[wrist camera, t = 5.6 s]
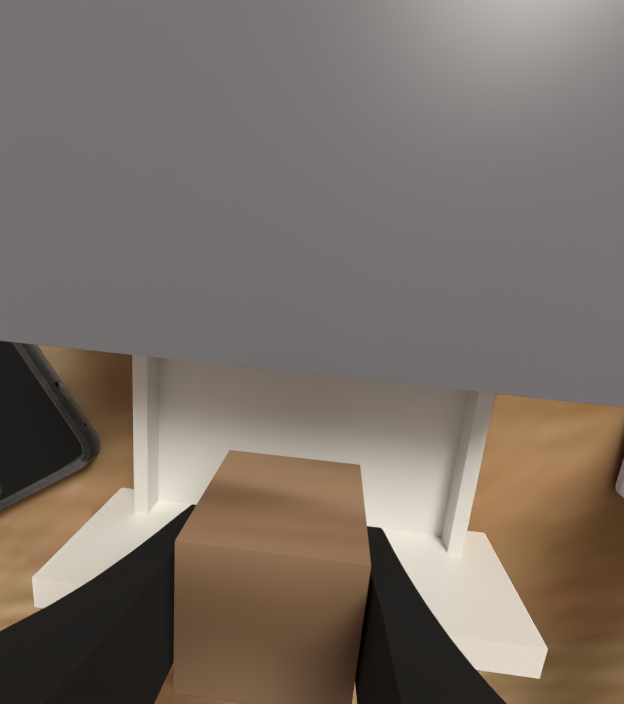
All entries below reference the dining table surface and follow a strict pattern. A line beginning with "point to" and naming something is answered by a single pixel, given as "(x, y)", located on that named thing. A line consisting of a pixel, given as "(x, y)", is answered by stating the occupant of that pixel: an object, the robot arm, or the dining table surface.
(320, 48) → the box housing
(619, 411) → the dining table surface
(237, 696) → the walnut block
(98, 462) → the dining table surface
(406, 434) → the tray
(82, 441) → the phone
